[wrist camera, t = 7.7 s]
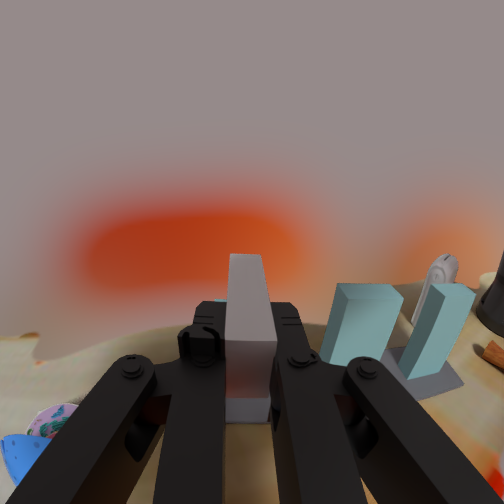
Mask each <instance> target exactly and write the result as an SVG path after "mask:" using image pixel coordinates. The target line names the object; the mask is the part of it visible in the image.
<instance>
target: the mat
mask: <svg viewBox="0 0 504 504" xmlns="http://www.w3.org/2000/svg"><path fill="white" fill-rule="evenodd" d="M405 348H406V347H398V348H391V349H385V350H384V352H383V354H382V356H381V359H380V361H379V362H381V363H382V364H383V365H384V366H385V367H386V368H387V369H388V370H389V371H390V372H391V373H392V375H393V376H394V377H395V378H396V379H397V380H398V381H399V382H400V383H401V384H402V385H403V387H404V388H405V389H406V390H407V391H408V392H409V393H410V394H411V395H412V396H413V398H414V399H415V400H416V401H419V400H423V399H426V398H429V397H432V396H435V395H438V394H441V393H444V392H447V391H450V390H453V389H455V388H458V387H461V386H463V385H464V383H463V381H462V380H461V379H460V377H459V376H458V375H457V373H456V372H455V371H454V369H453V368H452V367H451V366H450V364H449V363H448V362H447V361H445V362H444V364H443V366H442V368H441V369H440V371H439V372H437V373H434V374H430V375H426V376H422V377H418V378H413V379H409V380H407V379H406V378H405V376H404V374H403V373H402V371H401V370H400V368H399V367H398V363H399V361H400V359H401V357H402V355H403V352H404V350H405ZM270 403H271V398H270V391H269V397H268V398H226V423H242V424H264V423H271V422H267V419H268V414H269V408H270Z"/></svg>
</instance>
